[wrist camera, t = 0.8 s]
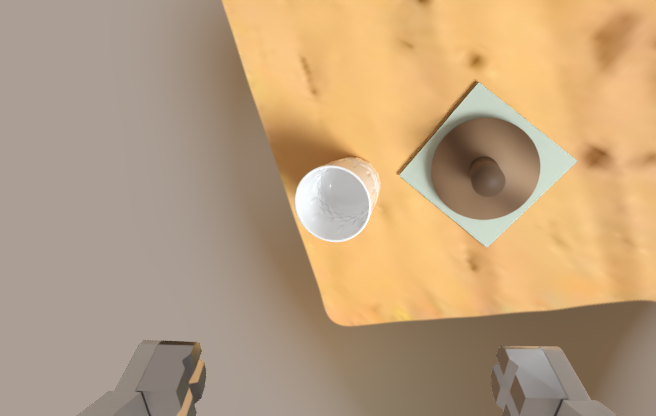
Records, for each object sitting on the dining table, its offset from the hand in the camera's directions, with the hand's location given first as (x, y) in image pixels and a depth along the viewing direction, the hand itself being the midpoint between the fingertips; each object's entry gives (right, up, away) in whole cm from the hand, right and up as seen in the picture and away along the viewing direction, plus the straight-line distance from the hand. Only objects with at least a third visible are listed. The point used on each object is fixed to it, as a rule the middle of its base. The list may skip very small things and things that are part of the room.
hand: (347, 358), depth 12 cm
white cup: (+3, +7, +40) cm, 41 cm away
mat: (+17, +9, +36) cm, 40 cm away
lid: (+16, +8, +35) cm, 40 cm away
